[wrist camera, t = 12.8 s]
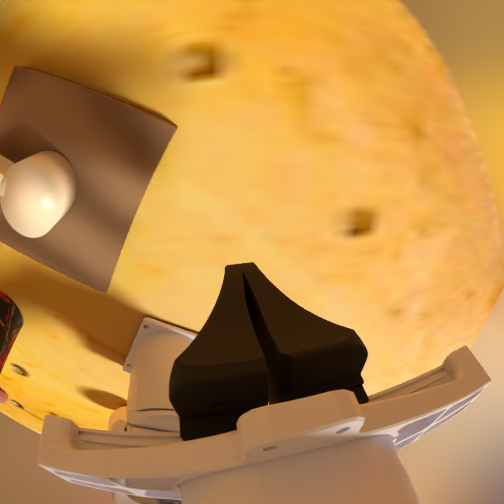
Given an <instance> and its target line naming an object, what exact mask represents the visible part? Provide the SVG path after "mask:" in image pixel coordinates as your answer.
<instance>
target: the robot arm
mask: <svg viewBox="0 0 504 504" xmlns="http://www.w3.org/2000/svg"><path fill="white" fill-rule="evenodd" d="M145 325H147V326H145ZM367 356H368V352H367V349H366V347H365V345H364V343H363V342H362V340H361V339H360V337H359V336H358V335H357V334H356V332H355V331H354V330H353V329H349V328H346V327H343V326H340V325H337V324H334V323H332V322H330V321H327V320H325V319H323V318H321V317H318V316H316V315H315V314H313V313H311V312H309V311H307V310H305V309H304V308H302V307H301V306H299V305H298V304H296V303H295V302H293V301H292V300H291V299H289V298H288V297H287V296H286V295H284V294H283V293H282V292H281V291H280V290H279V289H278V288H277V287H275V286H274V285H273V284H272V283H271V282H270V281H269V280H268V279H267V277H266V276H265V275H264V274H263V273H262V272H261V271H260V270H259V268H258V267H257V266H256V264H255V263H253V262H250V263H242V264H234V265H227V266H226V267H225V275H224V280H223V284H222V287H221V291H220V294H219V296H218V299H217V301H216V304H215V306H214V308H213V310H212V312H211V314H210V316H209V318H208V320H207V321H206V323H205V324H204V326H203V328H202V329H201V331H200V332H199V333H198V334H196V333H193V332H190V331H187V330H184V329H181V328H178V327H175V326H172V325H169V324H166V323H163V322H160V321H157V320H155V319H152V318H149V317H146V318H144V319H143V321H142V323H141V325H140V328H139V330H138V332H137V334H136V337H135V339H134V341H133V344H132V346H131V348H130V351H129V353H128V356H127V358H126V360H125V363H124V365H123V370H124V371H125V372H128V373H131V375H130V383H129V391H128V399H127V409H126V417H127V419H126V424H125V421H124V420H121V419H118V420H117V422H115V423H113V424H112V426H111V431H106V430H96V429H87V428H79V427H78V426H77V425H76V424H75V423H74V422H73V421H72V420H70V419H67V418H64V417H58V416H52V415H46V416H45V420H44V425H43V429H42V434H41V440H40V445H39V451H38V457H37V464H38V465H39V466H41V467H43V468H45V469H46V470H48V471H50V472H52V473H53V474H55V475H57V476H59V477H61V478H63V479H65V480H67V481H69V482H71V483H75V484H79V485H84V486H88V487H92V488H97V489H101V490H106V491H110V499H111V500H112V501H113V504H420V502H419V499H418V497H417V494H416V492H415V490H414V487H413V485H412V483H411V480H410V478H409V476H408V474H407V471H406V469H405V466H404V464H403V462H402V460H401V458H400V455H399V453H398V450H400V449H402V448H404V447H405V446H407V445H409V444H411V443H413V442H414V441H416V440H418V439H420V438H421V437H423V436H425V435H426V434H428V433H429V432H431V431H432V430H434V429H435V428H437V427H439V426H440V425H442V424H443V423H445V422H446V421H448V420H449V419H451V418H453V417H454V416H456V415H457V414H459V413H460V412H461V411H463V410H464V409H466V408H467V406H469V405H470V404H471V402H472V401H473V400H474V399H475V398H476V397H477V396H478V395H479V394H480V393H481V392H482V391H483V390H484V388H485V387H486V386H487V385H488V384H489V383H490V381H491V379H490V377H489V376H488V375H487V373H486V372H485V370H484V369H483V367H482V366H481V365H480V363H479V362H478V361H477V360H476V358H475V356H474V355H473V354H472V352H471V351H470V350H469V349H468V347H467V346H463V347H461V348H459V349H457V350H455V351H453V352H452V353H450V354H449V355H448V356H447V357H446V359H445V360H444V362H443V364H442V365H441V366H439V367H437V368H435V369H433V370H431V371H429V372H427V373H424V374H422V375H420V376H418V377H416V378H413V379H411V380H409V381H406V382H404V383H402V384H399V385H397V386H394V387H392V388H389V389H387V390H384V391H381V392H379V393H376V394H373V395H370V396H367V394H366V392H365V390H364V388H363V386H362V385H363V383H364V380H363V378H362V376H361V371H362V369H363V367H364V365H365V362H366V360H367ZM268 402H269V405H268Z"/></svg>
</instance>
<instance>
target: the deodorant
mask: <svg viewBox="0 0 504 504" xmlns="http://www.w3.org/2000/svg"><path fill="white" fill-rule="evenodd" d="M22 325H23V318H22V314H21V312H20V310H19V309H18V307H17V306H16V304H15V303H14V302H13V301H12V300H11V299H10V298H9V297H8V296H7V295H6V294H4V293H3V292H1V291H0V373H1V371H2V368H3V366H4V363H5V361H6V359H7V356H8V354H9V352H10V350H11V348H12V346H13V343H14V341H15V339H16V337H17V335H18V333H19V331H20V329H21V327H22Z"/></svg>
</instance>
